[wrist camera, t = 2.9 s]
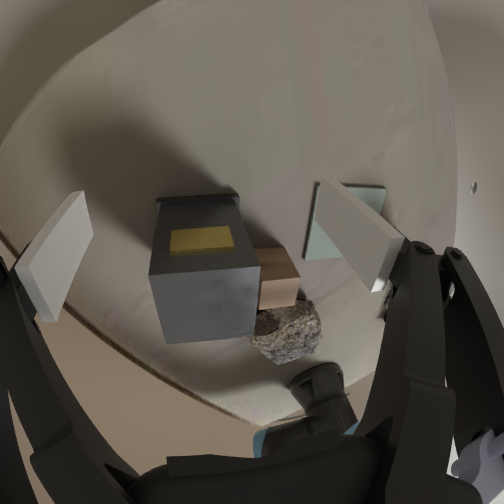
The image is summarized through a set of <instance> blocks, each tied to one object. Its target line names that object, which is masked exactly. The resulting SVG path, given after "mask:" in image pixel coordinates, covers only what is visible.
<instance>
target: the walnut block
mask: <svg viewBox="0 0 504 504" xmlns="http://www.w3.org/2000/svg"><path fill="white" fill-rule="evenodd" d="M254 251H255V253H256V256H257V258H258V261H259V263H260V266H261V267H260V278H259V289H258V300H257V305H258V308H259V310H263V309H271V308H279V307H286V306H293V305H295V301H296V297H297V292H298V288H299V283H300V278H301V277H300V275H299V273H298V271H297V270H296V268H295V266H294V264H293V262H292V260H291V258H290V257H289V255H288V253H287V251H286V249H285V248H284V247H274V248H261V249H254Z"/></svg>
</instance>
